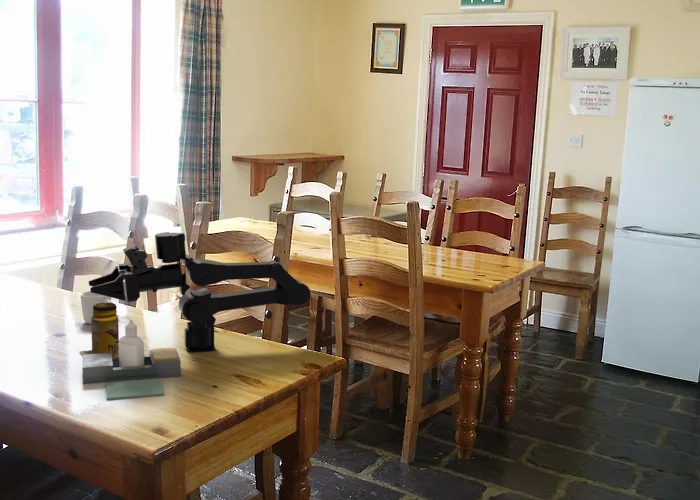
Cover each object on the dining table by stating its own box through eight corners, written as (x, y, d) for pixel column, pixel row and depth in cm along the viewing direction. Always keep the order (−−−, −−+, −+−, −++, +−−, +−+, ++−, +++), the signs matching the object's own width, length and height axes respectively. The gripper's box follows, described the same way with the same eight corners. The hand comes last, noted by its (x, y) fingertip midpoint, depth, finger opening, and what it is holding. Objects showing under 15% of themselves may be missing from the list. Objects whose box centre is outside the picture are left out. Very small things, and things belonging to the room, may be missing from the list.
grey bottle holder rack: (176, 363, 166) (176, 346, 166) (180, 376, 158) (180, 358, 157) (83, 369, 160) (82, 351, 159) (82, 383, 151) (82, 364, 151)
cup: (125, 323, 197) (124, 294, 196) (101, 329, 191) (100, 300, 189) (99, 316, 203) (98, 288, 202) (74, 322, 196) (73, 293, 195)
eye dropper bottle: (126, 378, 155) (125, 324, 153) (117, 371, 160) (116, 318, 158) (146, 375, 158) (145, 321, 156) (137, 367, 162) (136, 315, 160)
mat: (160, 380, 155) (159, 378, 155) (164, 395, 147) (164, 393, 147) (105, 384, 151) (105, 382, 151) (106, 399, 143) (106, 398, 143)
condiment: (124, 356, 170) (123, 306, 168) (86, 361, 166) (85, 310, 164) (115, 347, 176) (114, 299, 174) (79, 352, 171) (77, 303, 169)
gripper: (150, 239, 179) (83, 247, 174) (160, 248, 162) (86, 257, 156) (155, 284, 181) (89, 292, 175) (166, 297, 164) (93, 307, 158)
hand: (89, 286), depth 166 cm, fingers open, 9 cm apart
